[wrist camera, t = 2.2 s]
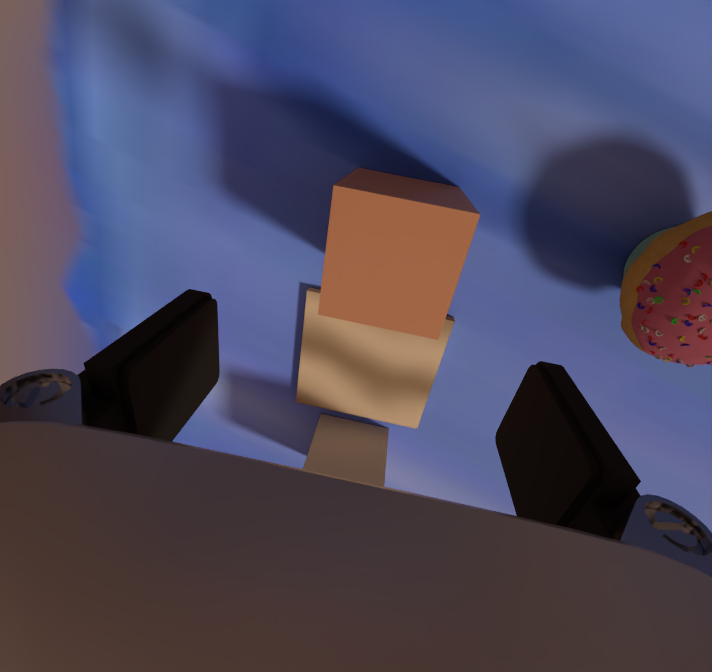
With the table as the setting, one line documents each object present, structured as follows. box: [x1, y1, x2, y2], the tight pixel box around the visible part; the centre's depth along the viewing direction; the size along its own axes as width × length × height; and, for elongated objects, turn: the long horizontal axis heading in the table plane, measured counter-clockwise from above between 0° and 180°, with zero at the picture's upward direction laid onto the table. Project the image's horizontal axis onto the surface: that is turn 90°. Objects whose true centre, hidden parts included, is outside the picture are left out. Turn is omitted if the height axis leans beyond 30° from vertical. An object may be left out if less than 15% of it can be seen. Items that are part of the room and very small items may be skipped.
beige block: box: [303, 414, 389, 487], centre depth 31 cm, size 6×6×8 cm
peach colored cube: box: [318, 167, 480, 340], centre depth 20 cm, size 6×6×8 cm
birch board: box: [296, 287, 455, 429], centre depth 29 cm, size 11×11×1 cm
